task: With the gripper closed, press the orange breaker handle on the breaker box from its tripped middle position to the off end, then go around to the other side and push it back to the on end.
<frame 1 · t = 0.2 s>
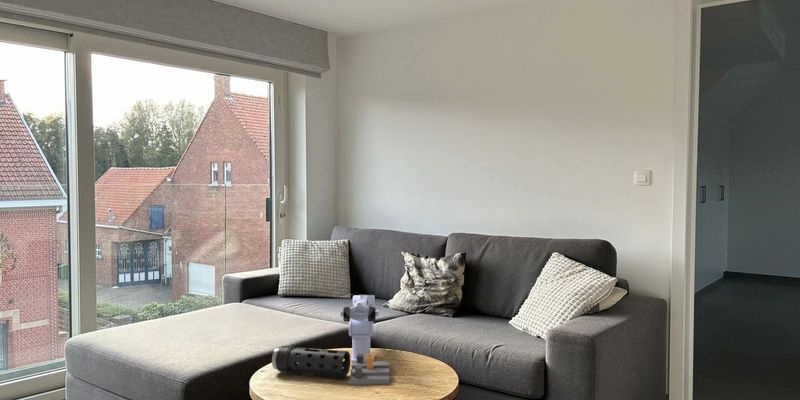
hand: (358, 318, 225), 21 cm above the table, tool horizontal, fingers open, 7 cm apart
muzzle brake: (311, 376, 226), on the table
breaker box: (370, 375, 225), on the table
breaker handle: (370, 362, 225), point 5 cm above the table, slide at 0.0 cm
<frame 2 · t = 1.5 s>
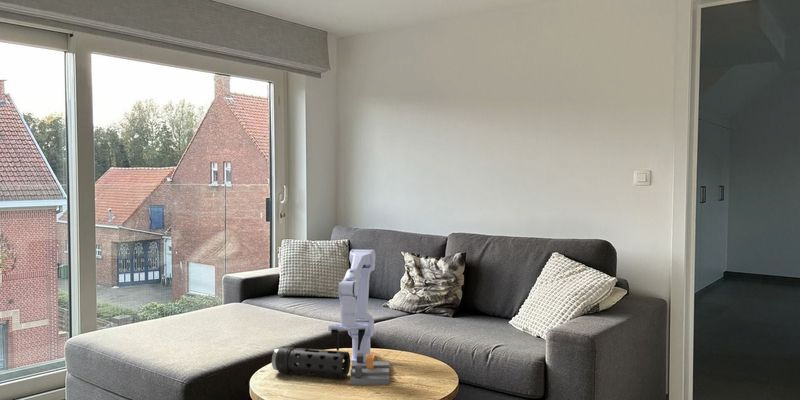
hand: (348, 349, 224), 10 cm above the table, tool pointing down, fingers open, 7 cm apart
muzzle brake: (311, 376, 226), on the table, touching gripper
everything else where it was.
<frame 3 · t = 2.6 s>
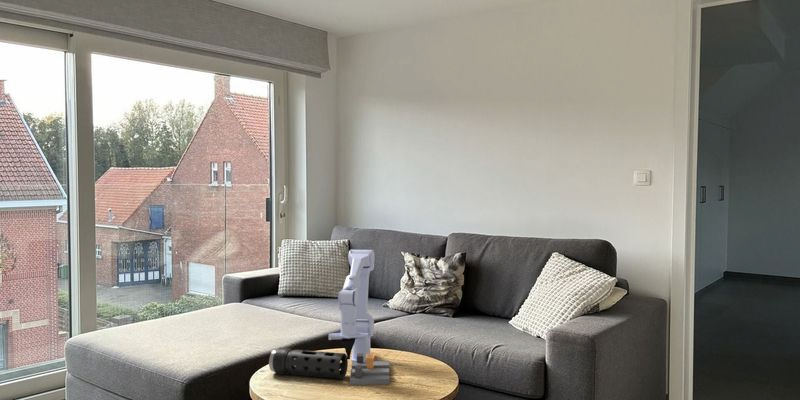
hand: (348, 358, 224), 6 cm above the table, tool pointing down, fingers closed, pressing on muzzle brake
muzzle brake: (308, 377, 226), on the table, touching gripper
everything else where it was.
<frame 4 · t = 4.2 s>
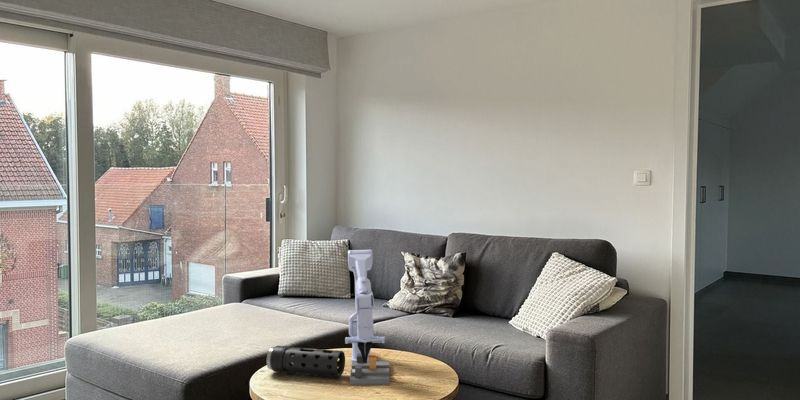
hand: (365, 362, 225), 5 cm above the table, tool pointing down, fingers closed
muzzle brake: (306, 376, 226), on the table
breaker handle: (372, 362, 225), point 5 cm above the table, slide at 0.9 cm, touching gripper
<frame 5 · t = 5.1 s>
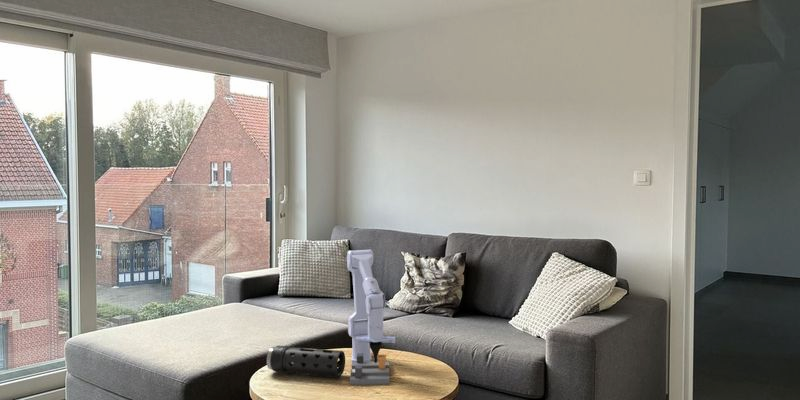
hand: (375, 362, 225), 5 cm above the table, tool pointing down, fingers closed
breaker handle: (382, 362, 225), point 5 cm above the table, slide at 4.4 cm, touching gripper
everything else where it was.
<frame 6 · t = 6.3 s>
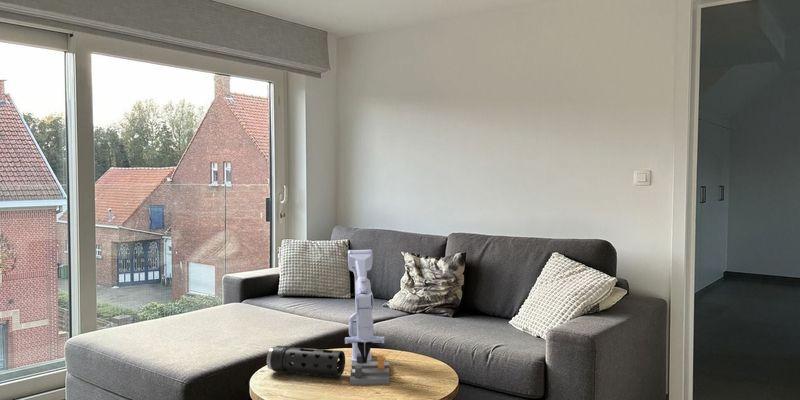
hand: (364, 362, 225), 5 cm above the table, tool pointing down, fingers closed
breaker handle: (381, 362, 225), point 5 cm above the table, slide at 4.1 cm
everything else where it was.
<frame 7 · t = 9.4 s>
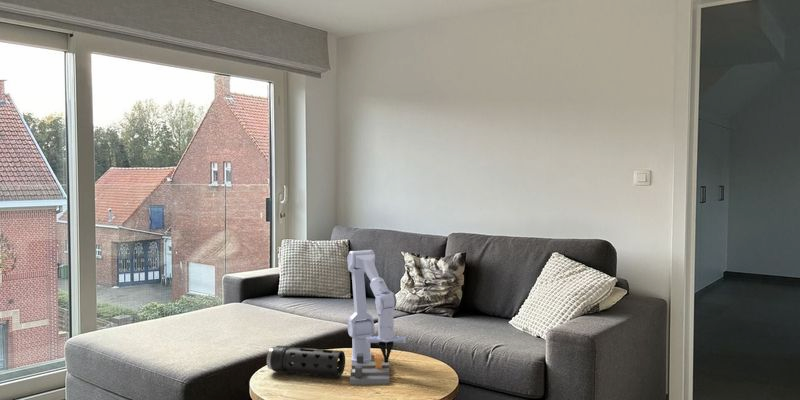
hand: (386, 361, 225), 5 cm above the table, tool pointing down, fingers closed
breaker handle: (378, 362, 225), point 5 cm above the table, slide at 3.2 cm, touching gripper
everything else where it was.
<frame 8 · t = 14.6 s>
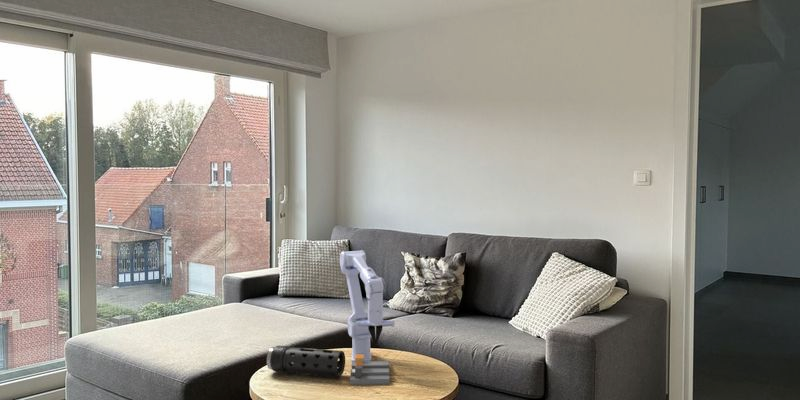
hand: (375, 345, 231), 9 cm above the table, tool pointing down, fingers closed
breaker handle: (359, 362, 225), point 5 cm above the table, slide at -4.1 cm
everything else where it was.
at the end: breaker handle slide at -4.1 cm; muzzle brake moved 2.0 cm from its start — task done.
